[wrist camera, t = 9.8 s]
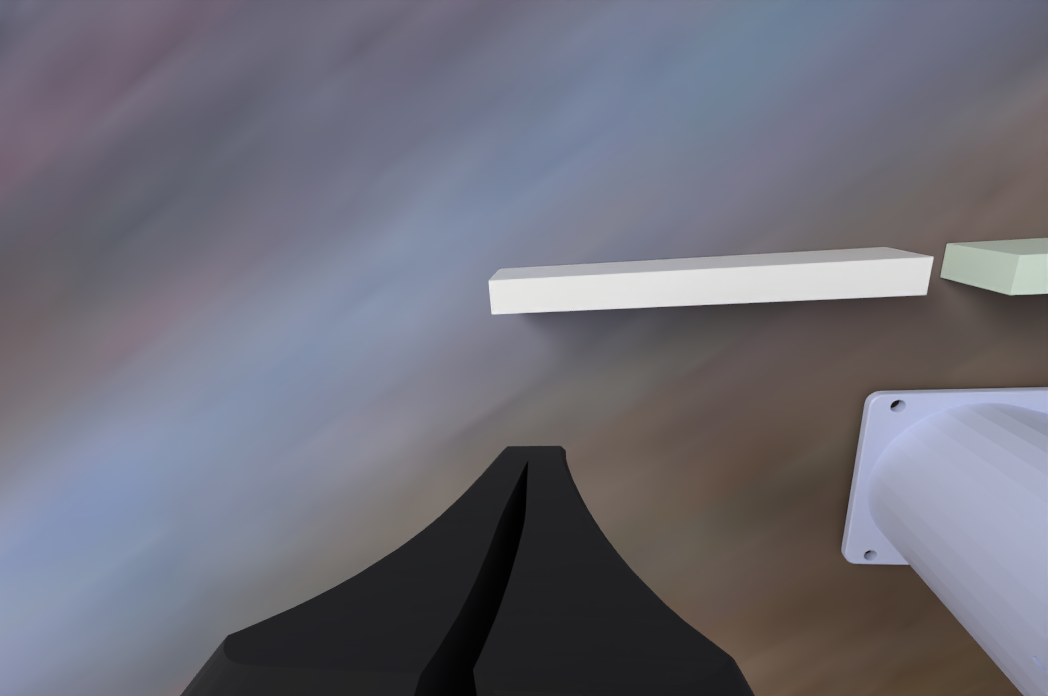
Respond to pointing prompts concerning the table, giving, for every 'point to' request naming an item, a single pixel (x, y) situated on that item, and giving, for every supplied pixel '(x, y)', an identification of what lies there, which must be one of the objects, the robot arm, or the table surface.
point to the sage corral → (999, 265)
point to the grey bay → (712, 280)
